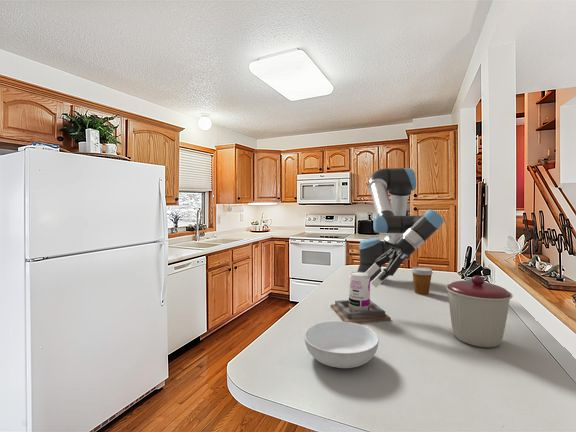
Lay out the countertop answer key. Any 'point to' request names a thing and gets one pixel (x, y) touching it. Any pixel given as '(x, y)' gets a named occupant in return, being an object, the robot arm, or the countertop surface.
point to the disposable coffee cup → (421, 280)
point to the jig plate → (359, 313)
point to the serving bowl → (341, 343)
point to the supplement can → (359, 292)
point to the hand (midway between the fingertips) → (369, 280)
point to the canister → (478, 311)
